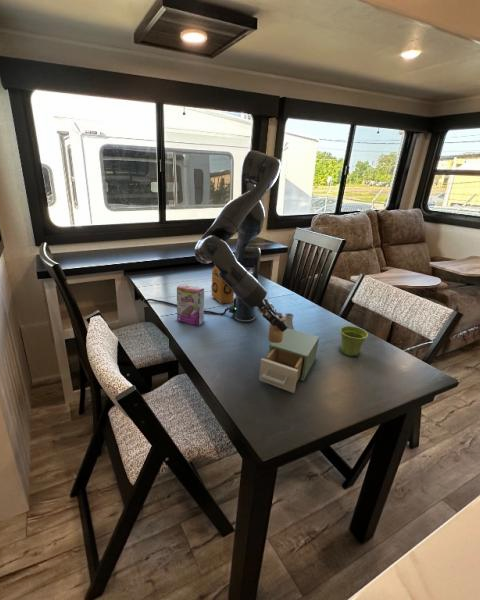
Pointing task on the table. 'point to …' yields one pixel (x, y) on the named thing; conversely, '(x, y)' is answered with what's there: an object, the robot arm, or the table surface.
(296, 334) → the cabinet
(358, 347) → the plant pot
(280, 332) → the pepper mill
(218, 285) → the coffee package
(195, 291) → the candy bar box
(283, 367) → the drawer
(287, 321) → the flask
